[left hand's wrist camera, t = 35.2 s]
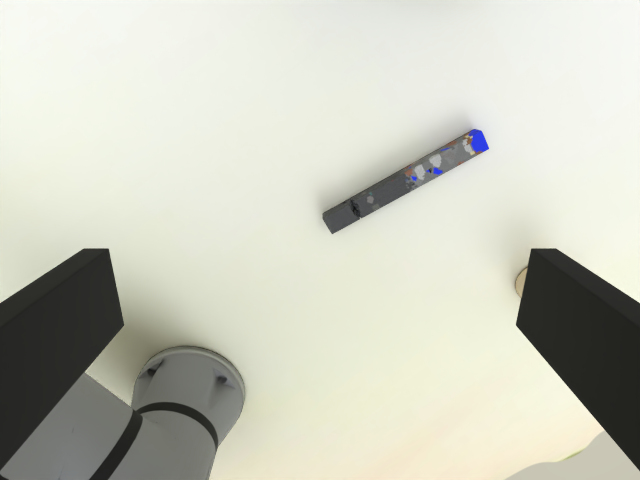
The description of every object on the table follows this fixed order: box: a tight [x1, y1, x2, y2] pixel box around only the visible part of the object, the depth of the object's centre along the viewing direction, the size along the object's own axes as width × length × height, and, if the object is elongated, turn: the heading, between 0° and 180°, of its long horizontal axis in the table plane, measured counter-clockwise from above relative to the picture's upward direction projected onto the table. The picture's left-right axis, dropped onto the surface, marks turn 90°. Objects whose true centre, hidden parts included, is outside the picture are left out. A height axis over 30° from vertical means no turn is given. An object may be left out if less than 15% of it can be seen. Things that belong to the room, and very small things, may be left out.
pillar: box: [323, 129, 489, 234], centre depth 45 cm, size 2×2×20 cm
